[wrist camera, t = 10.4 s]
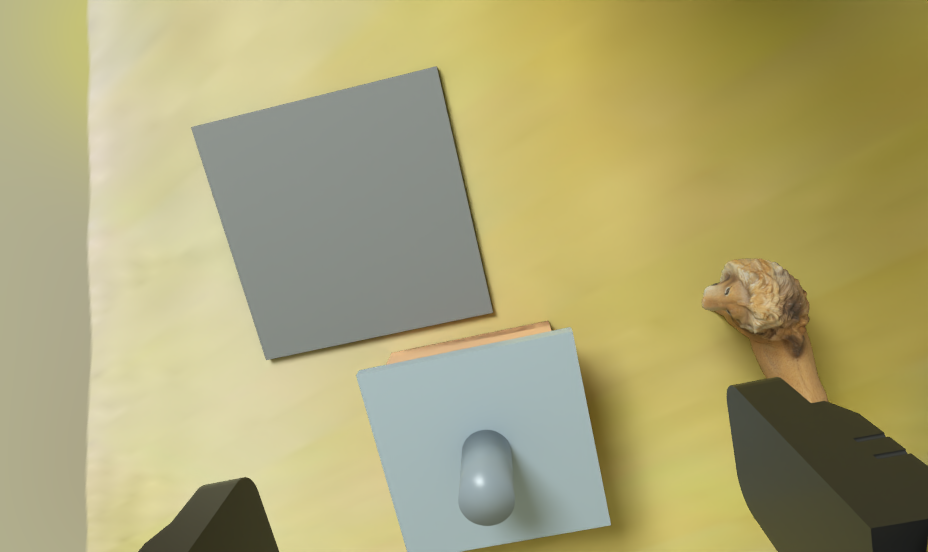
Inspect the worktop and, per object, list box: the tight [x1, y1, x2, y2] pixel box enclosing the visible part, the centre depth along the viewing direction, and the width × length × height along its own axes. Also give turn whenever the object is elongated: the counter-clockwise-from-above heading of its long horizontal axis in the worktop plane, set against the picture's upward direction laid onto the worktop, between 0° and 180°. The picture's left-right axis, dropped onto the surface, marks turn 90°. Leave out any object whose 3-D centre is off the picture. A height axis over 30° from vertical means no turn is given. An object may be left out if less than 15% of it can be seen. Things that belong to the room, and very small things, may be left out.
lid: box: [356, 327, 611, 552], centre depth 35 cm, size 13×13×6 cm
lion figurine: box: [702, 259, 828, 403], centre depth 36 cm, size 15×5×9 cm, turn 33°
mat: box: [191, 66, 493, 360], centre depth 39 cm, size 16×16×1 cm
